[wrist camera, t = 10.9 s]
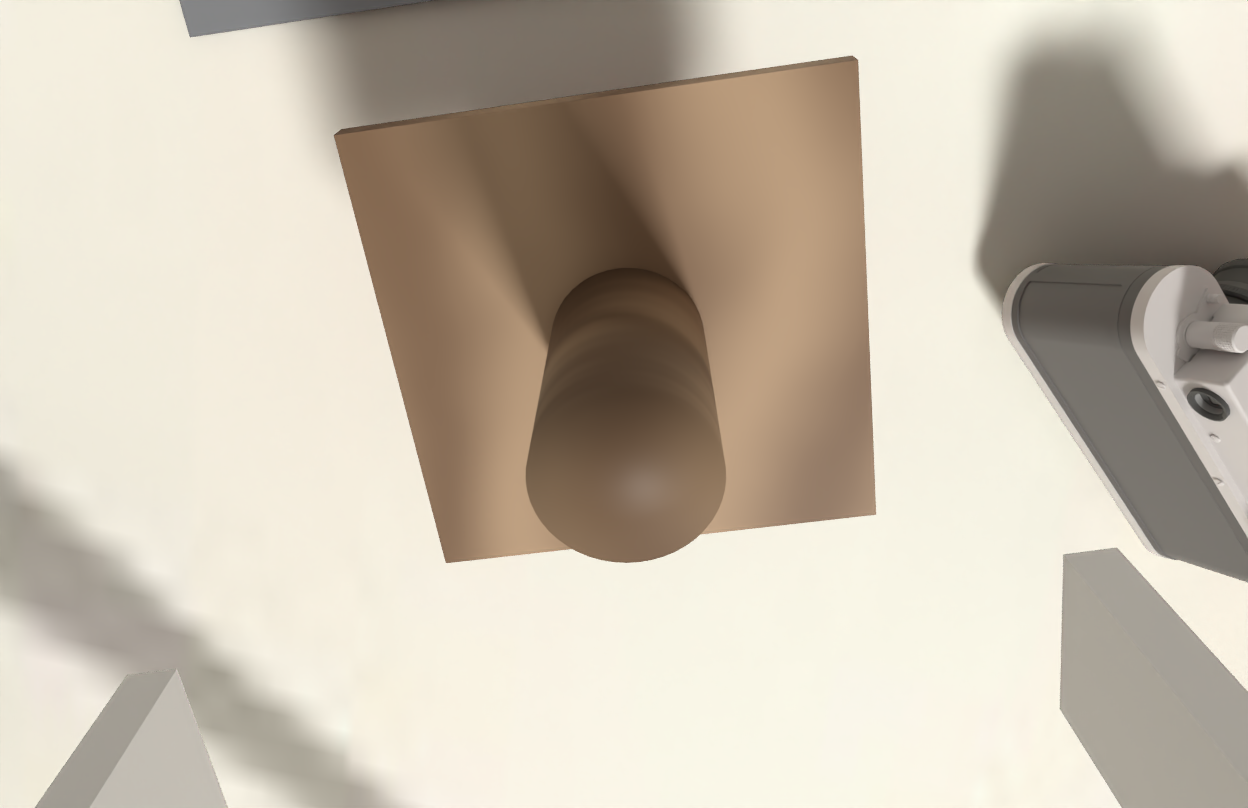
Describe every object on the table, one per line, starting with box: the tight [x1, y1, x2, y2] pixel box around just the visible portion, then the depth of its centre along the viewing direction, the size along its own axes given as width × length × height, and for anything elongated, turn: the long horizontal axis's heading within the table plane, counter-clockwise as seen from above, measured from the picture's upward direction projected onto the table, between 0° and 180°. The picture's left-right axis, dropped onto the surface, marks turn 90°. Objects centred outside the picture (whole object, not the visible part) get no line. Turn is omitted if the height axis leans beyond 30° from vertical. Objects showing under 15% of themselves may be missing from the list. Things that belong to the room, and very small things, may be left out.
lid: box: [334, 56, 876, 563], centre depth 27 cm, size 14×14×9 cm
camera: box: [1002, 259, 1248, 582], centre depth 40 cm, size 9×16×10 cm, turn 39°
